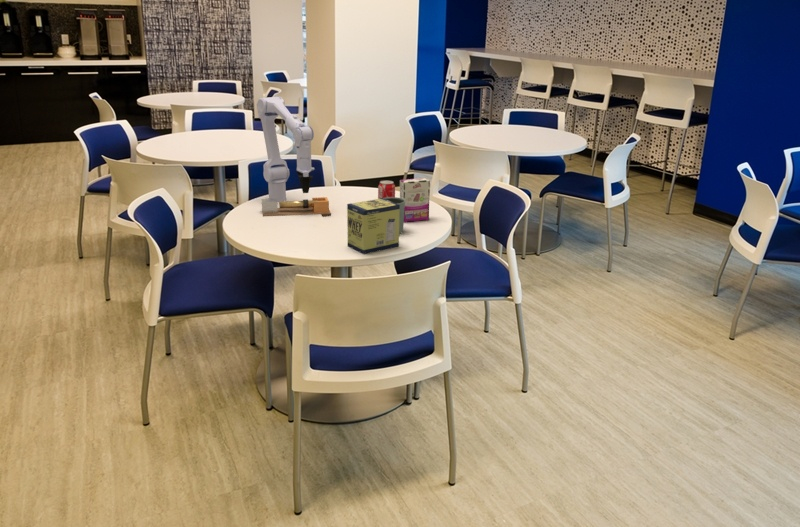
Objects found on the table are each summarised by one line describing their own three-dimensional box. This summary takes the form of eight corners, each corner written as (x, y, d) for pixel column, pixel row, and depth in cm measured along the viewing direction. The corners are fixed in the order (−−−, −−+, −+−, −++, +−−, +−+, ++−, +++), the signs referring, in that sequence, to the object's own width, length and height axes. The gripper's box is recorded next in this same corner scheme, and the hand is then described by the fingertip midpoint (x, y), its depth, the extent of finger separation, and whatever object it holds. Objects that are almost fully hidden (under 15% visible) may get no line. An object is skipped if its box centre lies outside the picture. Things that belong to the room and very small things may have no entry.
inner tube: (279, 208, 277) (279, 199, 275) (318, 206, 280) (318, 198, 279) (279, 210, 273) (279, 201, 272) (319, 208, 277) (319, 200, 275)
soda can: (374, 209, 285) (374, 181, 281) (388, 206, 290) (388, 179, 285) (384, 213, 280) (384, 184, 276) (398, 210, 284) (398, 182, 280)
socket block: (312, 208, 281) (312, 197, 280) (327, 207, 282) (326, 197, 281) (314, 212, 275) (313, 201, 274) (328, 212, 276) (328, 201, 275)
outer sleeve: (262, 210, 276) (261, 199, 274) (277, 210, 277) (276, 198, 275) (262, 213, 272) (261, 202, 270) (277, 213, 273) (277, 201, 271)
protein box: (346, 246, 239) (346, 203, 234) (382, 238, 248) (383, 197, 243) (363, 254, 231) (363, 210, 226) (399, 246, 240) (400, 203, 235)
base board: (261, 210, 280) (261, 208, 279) (327, 208, 285) (327, 206, 285) (262, 218, 269) (262, 216, 268) (331, 216, 274) (330, 213, 274)
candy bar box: (424, 217, 276) (425, 177, 270) (429, 220, 272) (430, 180, 266) (398, 219, 272) (399, 179, 266) (403, 222, 268) (404, 182, 262)
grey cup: (401, 235, 252) (402, 204, 248) (375, 233, 254) (375, 202, 250) (406, 228, 261) (407, 197, 257) (381, 226, 263) (381, 195, 259)
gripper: (315, 160, 264) (316, 194, 269) (312, 153, 278) (312, 186, 282) (297, 161, 263) (298, 195, 267) (294, 153, 276) (295, 186, 281)
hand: (304, 190), depth 275 cm, fingers open, 7 cm apart
